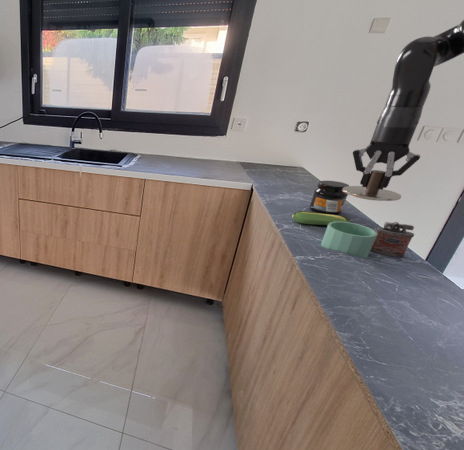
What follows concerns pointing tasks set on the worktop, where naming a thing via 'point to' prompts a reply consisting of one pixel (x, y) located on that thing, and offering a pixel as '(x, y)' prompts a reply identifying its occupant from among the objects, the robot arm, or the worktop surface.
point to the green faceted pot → (349, 238)
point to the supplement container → (329, 197)
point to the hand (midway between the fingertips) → (372, 187)
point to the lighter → (392, 239)
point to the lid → (372, 189)
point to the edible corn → (317, 218)
